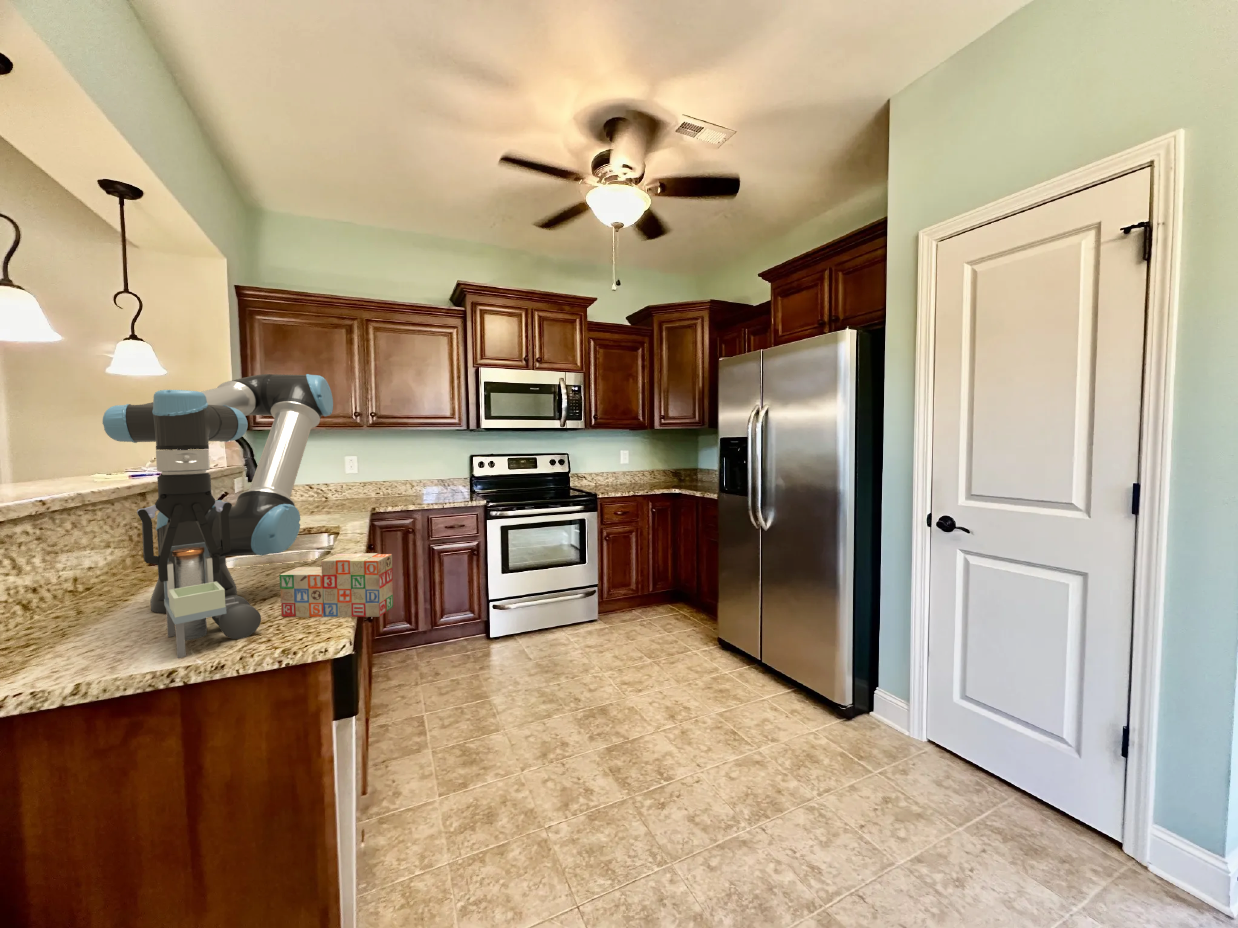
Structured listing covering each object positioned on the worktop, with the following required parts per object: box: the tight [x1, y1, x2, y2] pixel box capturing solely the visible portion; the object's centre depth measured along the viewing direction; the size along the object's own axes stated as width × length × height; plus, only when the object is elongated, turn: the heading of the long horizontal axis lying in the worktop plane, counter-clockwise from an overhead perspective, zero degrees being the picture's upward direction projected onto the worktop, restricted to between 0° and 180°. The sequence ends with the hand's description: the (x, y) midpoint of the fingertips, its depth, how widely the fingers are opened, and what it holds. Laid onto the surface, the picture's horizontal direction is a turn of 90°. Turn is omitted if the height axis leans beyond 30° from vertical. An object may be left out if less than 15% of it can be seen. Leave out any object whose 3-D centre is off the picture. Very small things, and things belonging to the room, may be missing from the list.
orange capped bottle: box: [172, 547, 208, 641], centre depth 93 cm, size 5×5×17 cm
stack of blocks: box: [278, 552, 394, 618], centre depth 106 cm, size 21×6×12 cm, turn 89°
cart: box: [164, 542, 262, 659], centre depth 93 cm, size 15×12×17 cm
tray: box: [169, 581, 225, 618], centre depth 88 cm, size 8×7×3 cm
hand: (191, 593), depth 93 cm, fingers open, 5 cm apart
